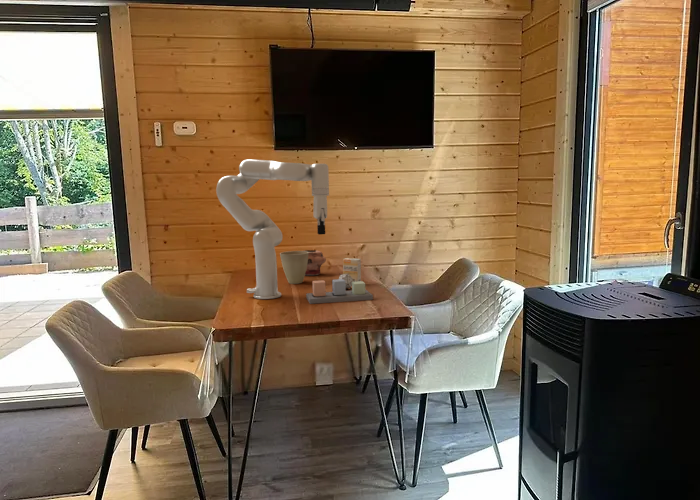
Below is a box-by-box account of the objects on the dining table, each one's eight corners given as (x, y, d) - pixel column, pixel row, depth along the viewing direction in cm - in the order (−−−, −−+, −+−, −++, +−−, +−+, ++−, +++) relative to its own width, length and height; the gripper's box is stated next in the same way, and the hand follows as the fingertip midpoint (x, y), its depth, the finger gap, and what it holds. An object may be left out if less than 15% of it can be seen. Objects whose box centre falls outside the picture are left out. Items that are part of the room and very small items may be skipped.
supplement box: (342, 284, 252) (342, 259, 250) (346, 282, 256) (346, 257, 255) (357, 285, 249) (357, 259, 247) (361, 283, 253) (360, 258, 252)
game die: (348, 297, 239) (352, 283, 232) (332, 290, 240) (335, 276, 233) (354, 285, 245) (358, 271, 239) (339, 279, 247) (342, 265, 240)
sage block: (354, 297, 219) (354, 283, 218) (352, 294, 224) (351, 281, 223) (365, 296, 220) (365, 283, 219) (362, 294, 225) (362, 281, 224)
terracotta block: (314, 296, 215) (314, 283, 214) (312, 294, 220) (312, 280, 219) (325, 295, 216) (325, 282, 215) (323, 293, 221) (323, 280, 220)
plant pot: (305, 279, 268) (305, 250, 266) (312, 284, 254) (311, 253, 252) (278, 281, 263) (277, 251, 261) (283, 286, 249) (282, 255, 247)
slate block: (334, 295, 217) (334, 281, 216) (332, 292, 222) (332, 279, 221) (345, 294, 218) (345, 281, 217) (343, 292, 223) (343, 279, 222)
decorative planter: (290, 277, 275) (289, 252, 273) (292, 273, 287) (291, 249, 285) (325, 276, 275) (325, 251, 273) (326, 272, 287) (325, 248, 285)
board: (309, 303, 211) (309, 299, 211) (306, 297, 223) (306, 293, 223) (372, 299, 217) (372, 295, 217) (366, 293, 229) (366, 289, 228)
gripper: (309, 192, 221) (310, 233, 223) (314, 192, 206) (315, 236, 209) (325, 192, 222) (326, 232, 225) (331, 192, 208) (332, 235, 210)
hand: (321, 234), depth 217 cm, fingers closed
